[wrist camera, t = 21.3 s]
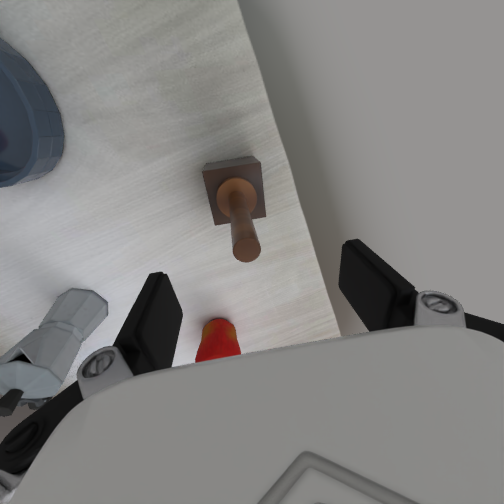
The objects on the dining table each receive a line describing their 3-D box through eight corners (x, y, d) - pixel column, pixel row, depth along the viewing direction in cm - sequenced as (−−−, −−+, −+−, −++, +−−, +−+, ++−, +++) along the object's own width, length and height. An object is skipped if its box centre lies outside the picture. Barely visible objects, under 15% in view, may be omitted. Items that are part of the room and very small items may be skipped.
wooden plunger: (212, 180, 26) (202, 225, 14) (252, 173, 26) (278, 210, 14) (221, 219, 29) (220, 284, 16) (258, 212, 29) (284, 272, 17)
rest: (206, 163, 31) (202, 171, 25) (253, 155, 32) (260, 162, 26) (216, 209, 35) (214, 225, 29) (258, 202, 35) (266, 217, 29)
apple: (199, 339, 49) (193, 393, 39) (199, 312, 45) (192, 365, 35) (237, 338, 51) (240, 391, 41) (240, 312, 47) (245, 363, 37)
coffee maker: (52, 275, 37) (-69, 380, 22) (109, 283, 39) (34, 383, 24) (63, 334, 44) (-25, 446, 28) (110, 338, 46) (53, 444, 31)
